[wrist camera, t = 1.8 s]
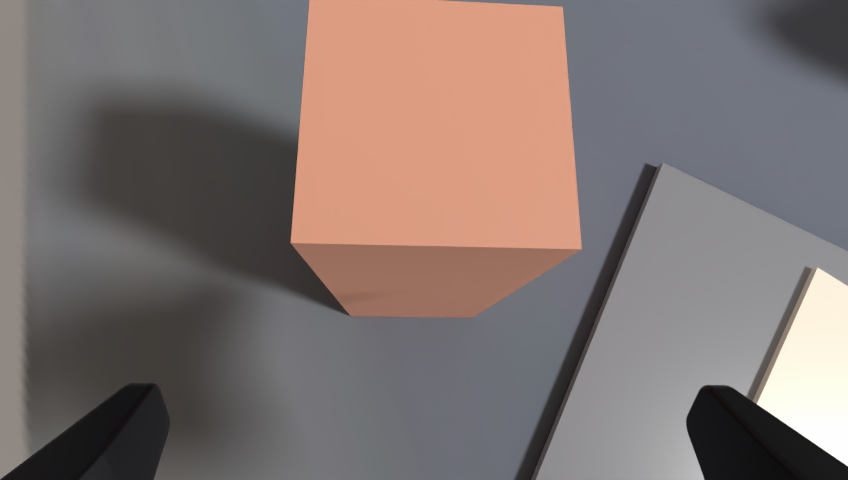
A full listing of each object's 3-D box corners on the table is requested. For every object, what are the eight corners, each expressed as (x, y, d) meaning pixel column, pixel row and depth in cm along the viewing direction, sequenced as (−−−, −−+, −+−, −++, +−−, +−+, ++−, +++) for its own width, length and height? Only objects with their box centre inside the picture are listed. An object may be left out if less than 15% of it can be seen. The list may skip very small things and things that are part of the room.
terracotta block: (472, 317, 20) (581, 249, 8) (350, 316, 20) (290, 242, 8) (470, 202, 21) (562, 6, 10) (355, 199, 21) (309, -7, 9)
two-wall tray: (967, 830, 17) (1142, 971, 13) (494, 569, 18) (522, 626, 14) (1037, 349, 21) (1180, 345, 17) (657, 167, 22) (712, 124, 18)
